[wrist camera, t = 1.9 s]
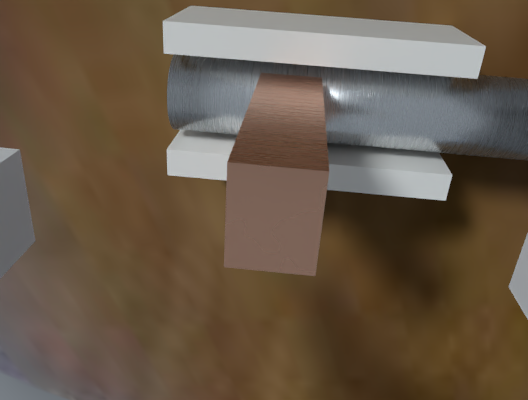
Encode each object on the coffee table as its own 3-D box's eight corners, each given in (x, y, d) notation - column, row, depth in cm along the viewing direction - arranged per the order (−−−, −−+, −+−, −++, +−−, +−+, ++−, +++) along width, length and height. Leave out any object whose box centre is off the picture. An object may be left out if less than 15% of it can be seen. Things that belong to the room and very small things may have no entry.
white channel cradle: (190, 5, 23) (162, 21, 19) (452, 25, 23) (485, 46, 18) (191, 135, 26) (167, 175, 22) (422, 156, 26) (445, 200, 21)
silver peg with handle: (185, 43, 23) (68, 140, 12) (543, 72, 22) (772, 203, 11) (186, 115, 24) (83, 259, 13) (520, 144, 24) (700, 321, 13)
